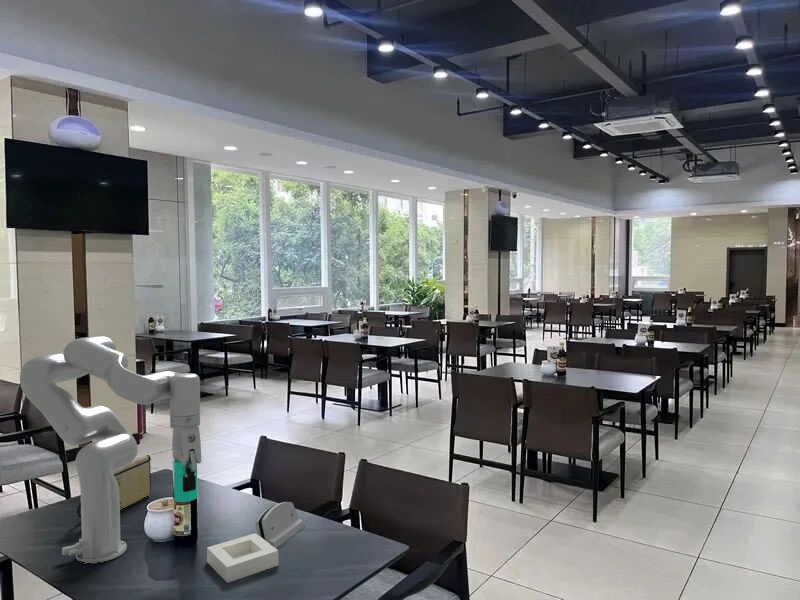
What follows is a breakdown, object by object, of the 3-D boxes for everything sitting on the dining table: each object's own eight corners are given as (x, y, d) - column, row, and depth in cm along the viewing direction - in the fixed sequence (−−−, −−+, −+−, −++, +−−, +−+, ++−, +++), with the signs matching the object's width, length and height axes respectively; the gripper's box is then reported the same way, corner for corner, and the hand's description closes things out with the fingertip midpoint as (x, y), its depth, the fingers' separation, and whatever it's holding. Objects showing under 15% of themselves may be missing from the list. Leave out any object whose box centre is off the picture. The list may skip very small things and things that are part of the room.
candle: (177, 494, 157) (177, 450, 156) (200, 493, 157) (200, 450, 157) (170, 502, 151) (170, 457, 150) (194, 501, 151) (194, 456, 151)
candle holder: (227, 582, 143) (227, 567, 143) (207, 562, 154) (206, 547, 154) (278, 565, 152) (278, 550, 152) (255, 546, 163) (255, 533, 163)
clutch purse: (138, 493, 207) (137, 452, 206) (154, 495, 205) (153, 453, 204) (70, 527, 178) (69, 479, 178) (88, 530, 176) (87, 481, 176)
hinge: (274, 549, 161) (263, 514, 162) (261, 552, 163) (250, 518, 164) (305, 526, 177) (295, 494, 178) (293, 529, 179) (283, 497, 180)
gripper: (210, 424, 149) (211, 493, 150) (188, 412, 162) (189, 476, 163) (181, 428, 144) (181, 500, 145) (161, 416, 158) (161, 482, 158)
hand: (185, 486), depth 154 cm, fingers closed on candle, 4 cm apart
